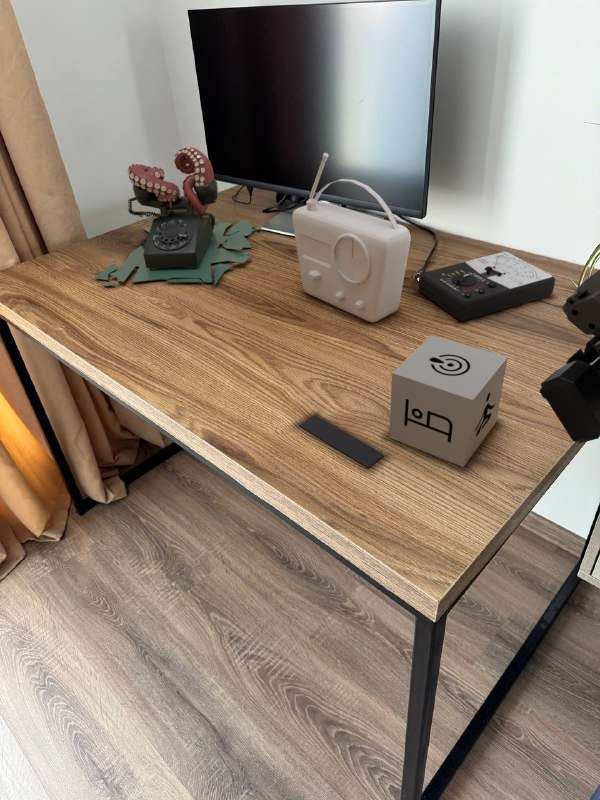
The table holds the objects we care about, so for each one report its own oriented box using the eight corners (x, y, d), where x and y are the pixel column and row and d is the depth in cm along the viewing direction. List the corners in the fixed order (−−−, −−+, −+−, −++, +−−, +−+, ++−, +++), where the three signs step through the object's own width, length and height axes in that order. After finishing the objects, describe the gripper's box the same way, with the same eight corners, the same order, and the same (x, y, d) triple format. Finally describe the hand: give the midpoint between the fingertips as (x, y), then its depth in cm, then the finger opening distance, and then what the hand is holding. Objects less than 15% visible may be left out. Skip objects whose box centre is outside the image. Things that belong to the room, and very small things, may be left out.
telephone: (137, 224, 143) (117, 136, 131) (265, 220, 140) (256, 129, 128) (86, 289, 115) (55, 185, 103) (244, 285, 112) (231, 178, 100)
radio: (288, 292, 109) (277, 151, 94) (321, 277, 113) (315, 140, 98) (376, 333, 95) (379, 175, 80) (409, 315, 99) (418, 161, 84)
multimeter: (416, 292, 106) (418, 266, 103) (503, 268, 111) (507, 243, 108) (460, 323, 96) (463, 296, 93) (553, 296, 101) (559, 269, 98)
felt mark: (384, 456, 72) (384, 454, 72) (368, 468, 70) (368, 467, 70) (315, 415, 79) (314, 414, 79) (299, 426, 78) (299, 425, 77)
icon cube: (389, 437, 75) (391, 372, 69) (425, 397, 81) (431, 334, 75) (463, 467, 70) (473, 400, 63) (496, 422, 76) (507, 357, 70)
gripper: (683, 221, 53) (545, 296, 66) (590, 295, 43) (450, 365, 57) (749, 325, 53) (598, 379, 66) (670, 422, 43) (511, 463, 57)
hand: (543, 393), depth 62 cm, fingers closed
